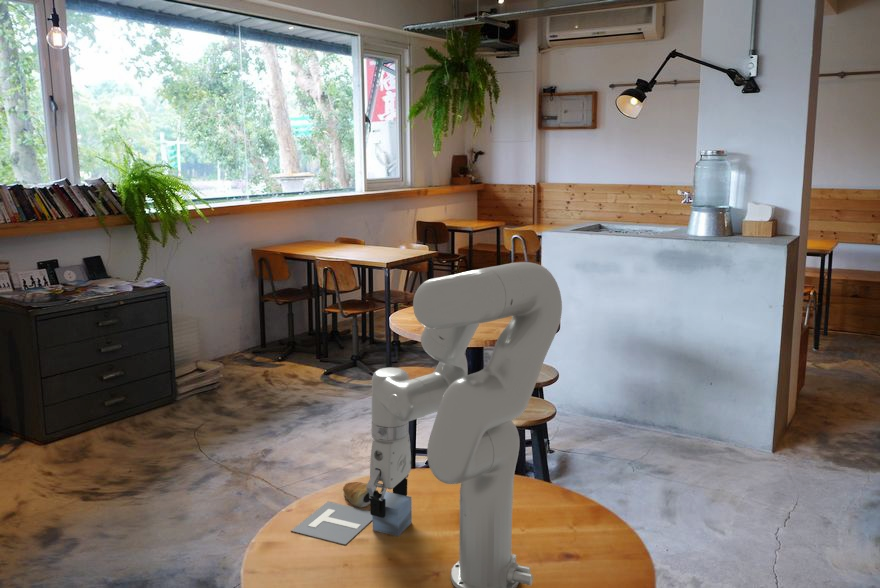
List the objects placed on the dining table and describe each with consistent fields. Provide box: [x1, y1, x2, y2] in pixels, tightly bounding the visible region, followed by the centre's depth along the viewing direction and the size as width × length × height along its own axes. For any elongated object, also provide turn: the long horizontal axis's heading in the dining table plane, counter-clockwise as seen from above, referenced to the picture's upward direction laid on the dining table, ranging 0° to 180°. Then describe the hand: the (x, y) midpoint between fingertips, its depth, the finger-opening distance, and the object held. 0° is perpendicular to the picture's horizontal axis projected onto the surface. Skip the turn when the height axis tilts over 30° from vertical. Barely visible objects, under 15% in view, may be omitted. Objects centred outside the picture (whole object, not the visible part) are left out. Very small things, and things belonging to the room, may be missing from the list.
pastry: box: [342, 481, 379, 509], centre depth 172 cm, size 9×7×4 cm
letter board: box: [290, 501, 373, 546], centre depth 161 cm, size 13×14×1 cm
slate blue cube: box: [372, 491, 413, 537], centre depth 159 cm, size 6×6×6 cm
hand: (389, 505), depth 159 cm, fingers open, 9 cm apart
